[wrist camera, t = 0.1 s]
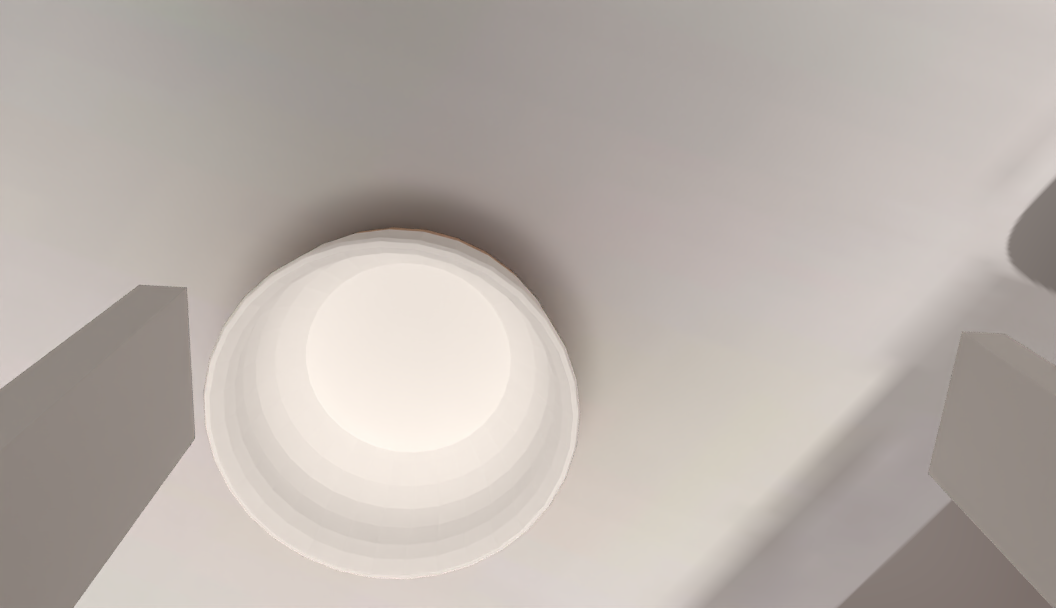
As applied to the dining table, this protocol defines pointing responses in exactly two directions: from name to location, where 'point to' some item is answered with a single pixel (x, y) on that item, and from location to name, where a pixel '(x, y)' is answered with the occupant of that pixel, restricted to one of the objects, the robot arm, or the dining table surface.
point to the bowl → (392, 405)
